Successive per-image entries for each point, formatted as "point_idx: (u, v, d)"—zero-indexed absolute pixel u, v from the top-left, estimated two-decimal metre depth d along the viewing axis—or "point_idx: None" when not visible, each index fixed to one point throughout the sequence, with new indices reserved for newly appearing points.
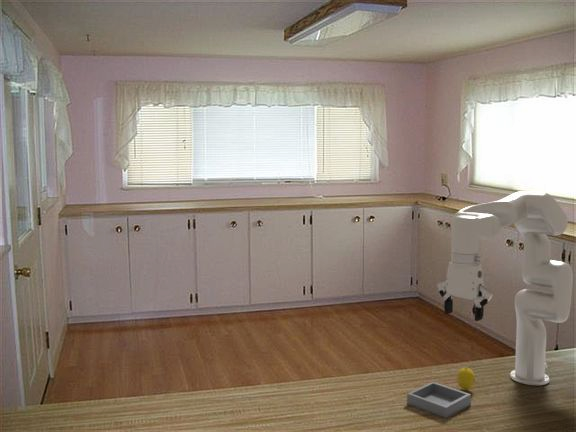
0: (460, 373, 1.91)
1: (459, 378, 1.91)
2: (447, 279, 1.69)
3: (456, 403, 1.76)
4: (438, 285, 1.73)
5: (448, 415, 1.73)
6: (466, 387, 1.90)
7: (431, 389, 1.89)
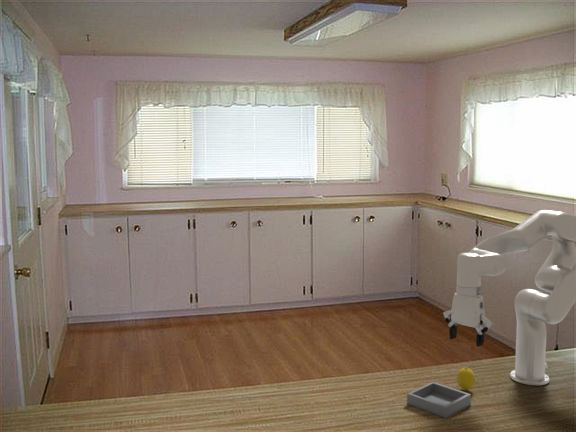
0: (460, 373, 1.91)
1: (459, 378, 1.91)
2: (452, 308, 1.91)
3: (456, 403, 1.76)
4: (444, 313, 1.95)
5: (448, 415, 1.73)
6: (466, 387, 1.90)
7: (431, 389, 1.89)
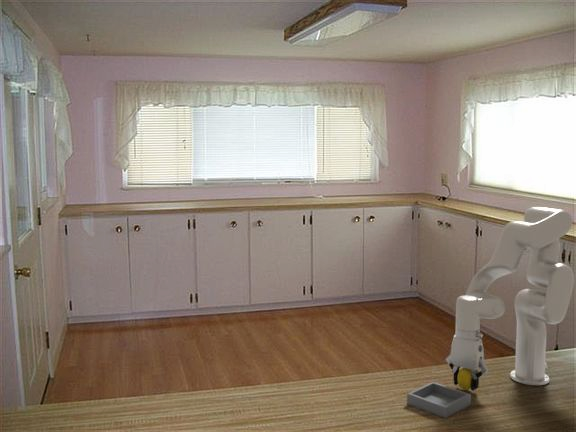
0: (460, 373, 1.91)
1: (459, 378, 1.91)
2: (452, 350, 1.93)
3: (456, 403, 1.76)
4: (446, 359, 1.96)
5: (448, 415, 1.73)
6: (466, 387, 1.90)
7: (431, 389, 1.89)
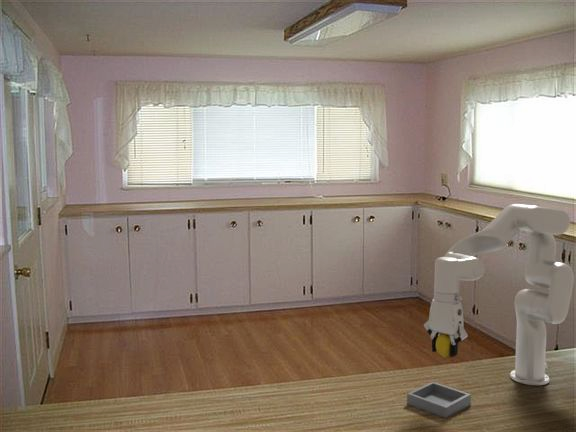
0: (438, 339, 1.81)
1: (437, 344, 1.81)
2: (430, 315, 1.83)
3: (456, 403, 1.76)
4: (425, 325, 1.86)
5: (448, 415, 1.73)
6: (444, 353, 1.80)
7: (431, 389, 1.89)
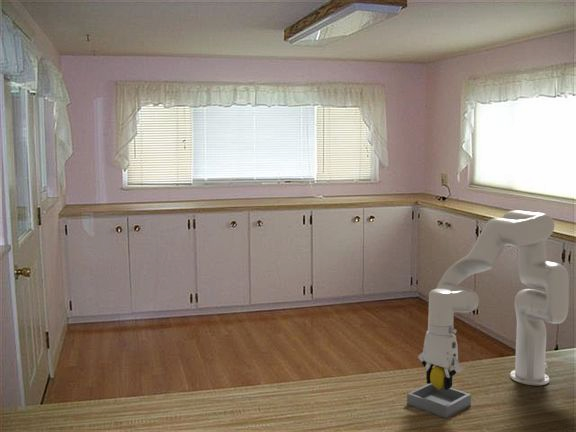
0: (433, 371, 1.80)
1: (432, 376, 1.80)
2: (424, 347, 1.82)
3: (456, 403, 1.76)
4: (419, 357, 1.85)
5: (448, 415, 1.73)
6: (439, 386, 1.79)
7: (431, 389, 1.89)
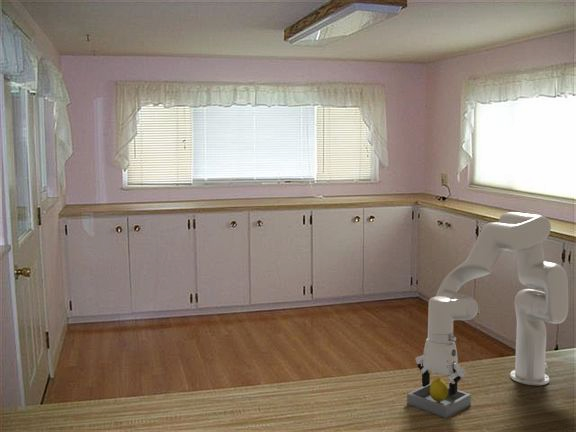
0: (432, 384, 1.81)
1: (431, 390, 1.81)
2: (424, 355, 1.82)
3: (456, 403, 1.76)
4: (416, 359, 1.86)
5: (448, 415, 1.73)
6: (438, 399, 1.80)
7: None
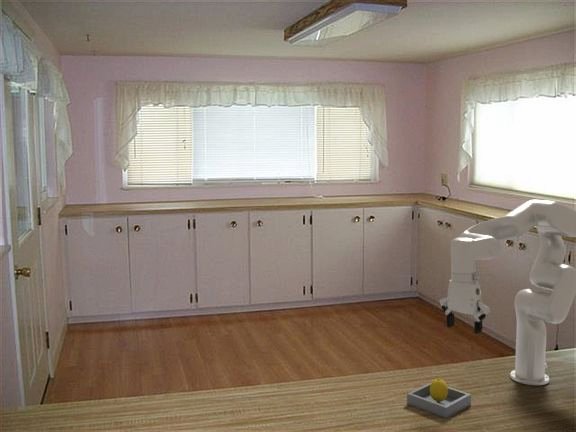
0: (432, 384, 1.81)
1: (431, 390, 1.81)
2: (448, 296, 1.85)
3: (456, 403, 1.76)
4: (440, 301, 1.89)
5: (448, 415, 1.73)
6: (438, 399, 1.80)
7: None
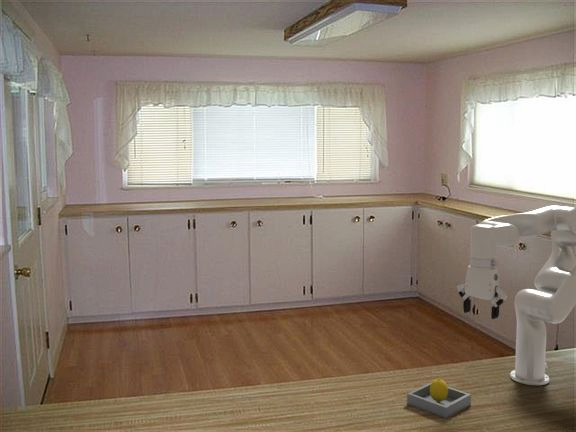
0: (432, 384, 1.81)
1: (431, 390, 1.81)
2: (466, 281, 1.88)
3: (456, 403, 1.76)
4: (457, 287, 1.92)
5: (448, 415, 1.73)
6: (438, 399, 1.80)
7: None
